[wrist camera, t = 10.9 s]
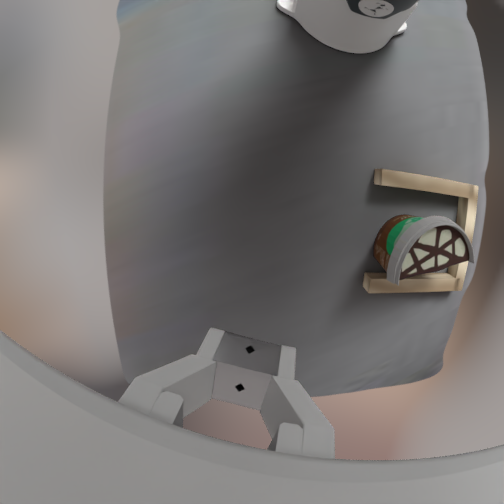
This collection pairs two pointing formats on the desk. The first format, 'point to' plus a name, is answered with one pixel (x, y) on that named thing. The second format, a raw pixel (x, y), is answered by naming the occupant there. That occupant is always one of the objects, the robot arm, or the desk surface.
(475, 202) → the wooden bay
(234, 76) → the desk surface
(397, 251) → the food container
